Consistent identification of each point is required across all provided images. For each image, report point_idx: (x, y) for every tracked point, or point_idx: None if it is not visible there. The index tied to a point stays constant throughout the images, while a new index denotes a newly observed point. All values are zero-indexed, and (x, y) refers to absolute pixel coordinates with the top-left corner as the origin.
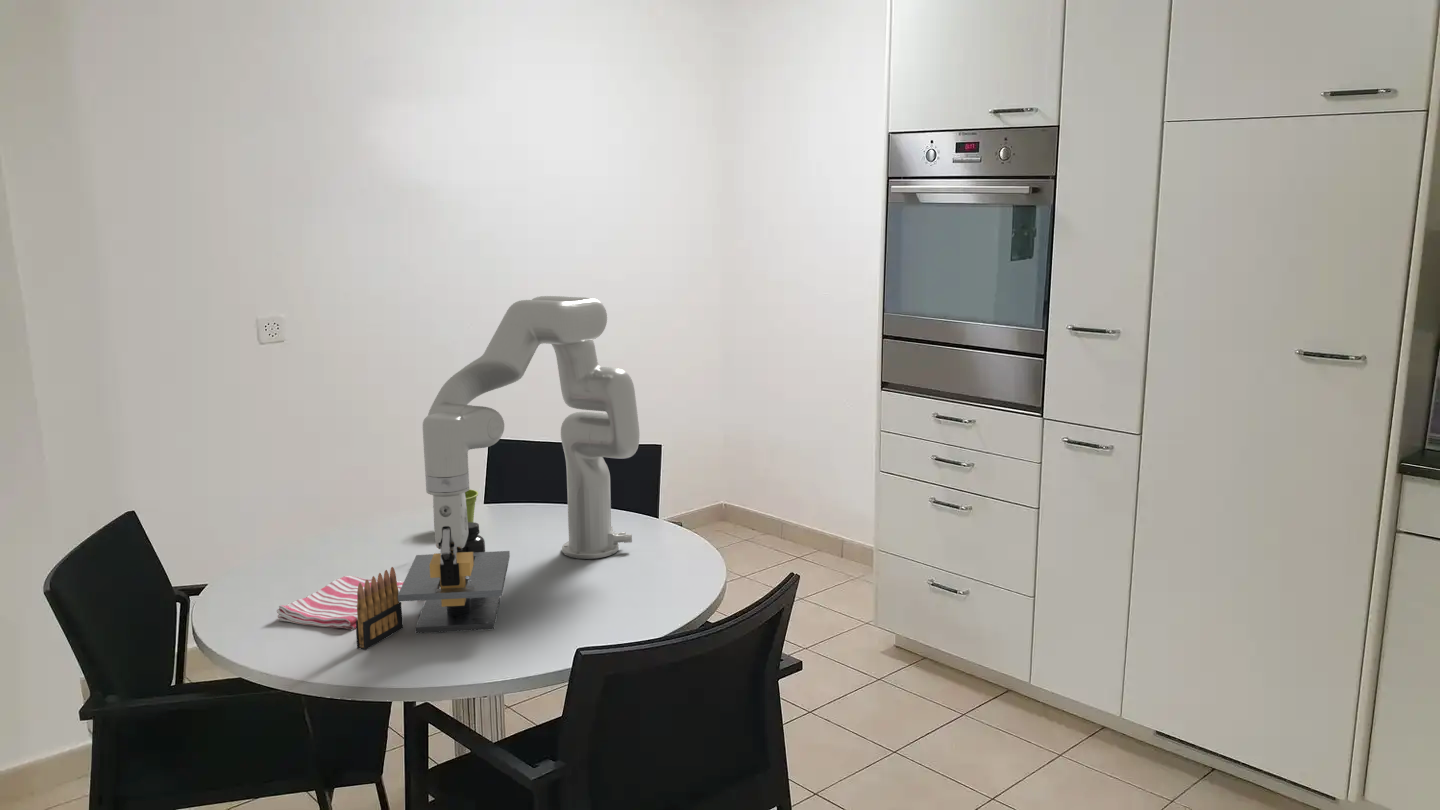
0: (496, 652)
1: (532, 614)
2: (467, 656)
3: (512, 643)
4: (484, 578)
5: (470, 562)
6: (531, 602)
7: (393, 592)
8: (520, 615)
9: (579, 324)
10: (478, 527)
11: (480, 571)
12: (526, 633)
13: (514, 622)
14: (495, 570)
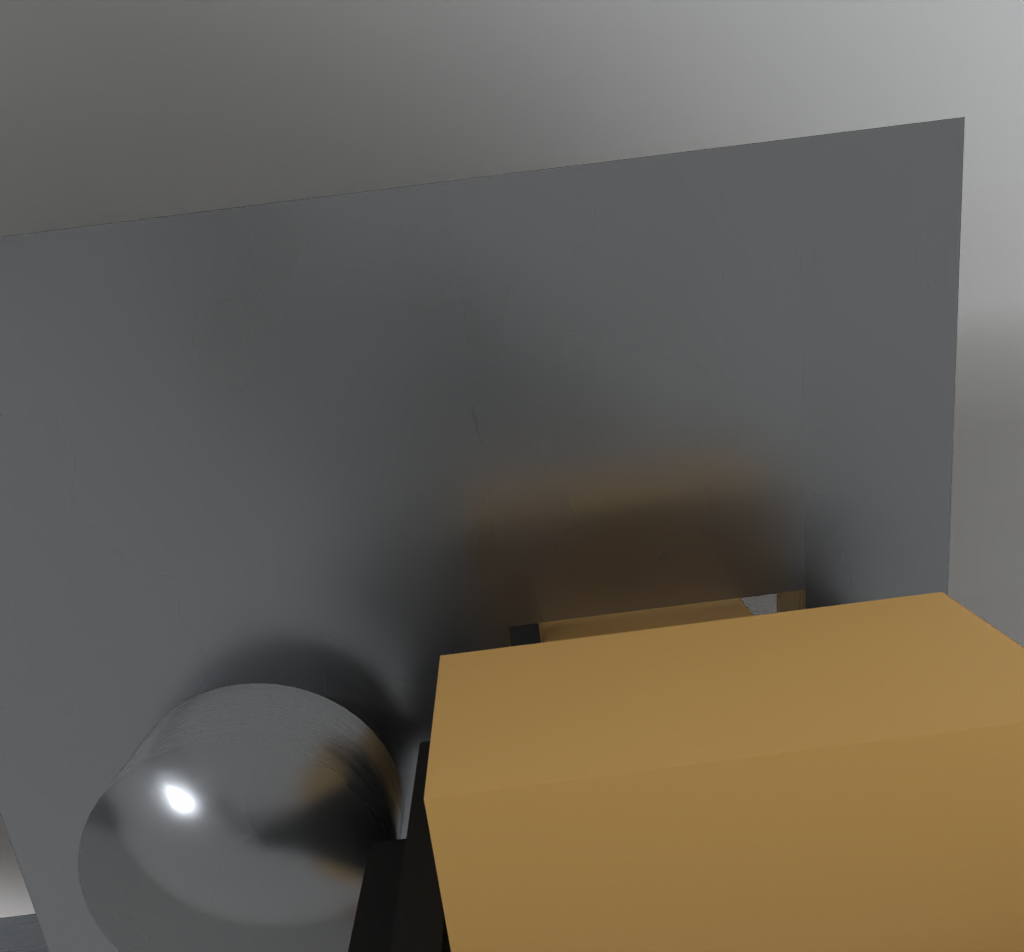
0: (990, 196)
1: (279, 37)
2: (1018, 383)
3: (850, 104)
4: (505, 442)
5: (960, 703)
6: (14, 92)
7: None
8: (306, 140)
9: None
10: None
11: (240, 548)
12: (671, 22)
13: (450, 164)
14: (185, 362)
